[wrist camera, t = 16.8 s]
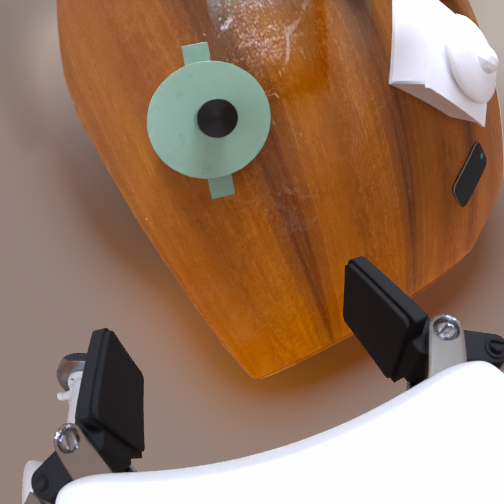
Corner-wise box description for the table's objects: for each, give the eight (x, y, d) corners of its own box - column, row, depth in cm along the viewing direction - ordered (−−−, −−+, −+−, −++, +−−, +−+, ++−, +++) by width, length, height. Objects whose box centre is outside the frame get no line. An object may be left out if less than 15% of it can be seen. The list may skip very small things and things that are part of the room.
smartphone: (487, 161, 42) (463, 209, 46) (485, 161, 43) (460, 208, 47) (479, 140, 39) (453, 190, 43) (476, 139, 40) (450, 189, 44)
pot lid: (163, 189, 25) (156, 213, 19) (138, 79, 19) (122, 65, 13) (275, 163, 26) (303, 178, 20) (257, 56, 21) (283, 37, 14)
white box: (453, 43, 28) (515, 45, 15) (449, 119, 36) (516, 137, 23) (391, -1, 24) (462, -18, 10) (387, 86, 32) (470, 91, 18)
